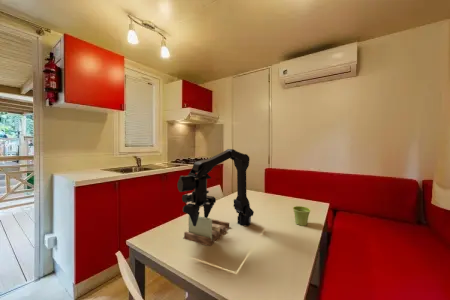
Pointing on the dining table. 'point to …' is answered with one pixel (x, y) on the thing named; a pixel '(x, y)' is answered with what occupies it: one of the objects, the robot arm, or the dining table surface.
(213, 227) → the offcut
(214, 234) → the rack
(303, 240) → the dining table surface
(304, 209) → the plant pot
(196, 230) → the sheet
